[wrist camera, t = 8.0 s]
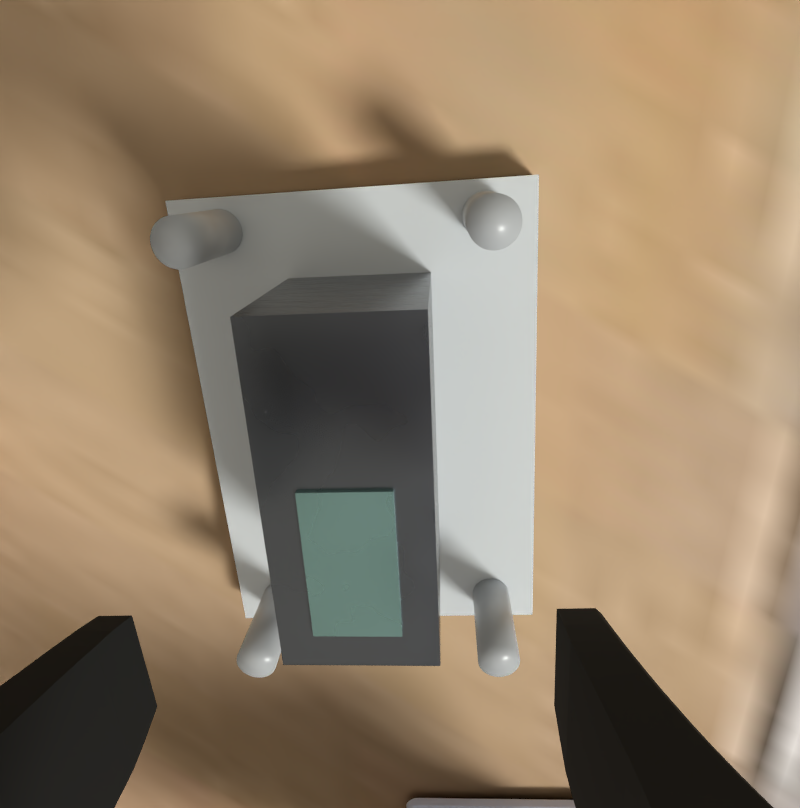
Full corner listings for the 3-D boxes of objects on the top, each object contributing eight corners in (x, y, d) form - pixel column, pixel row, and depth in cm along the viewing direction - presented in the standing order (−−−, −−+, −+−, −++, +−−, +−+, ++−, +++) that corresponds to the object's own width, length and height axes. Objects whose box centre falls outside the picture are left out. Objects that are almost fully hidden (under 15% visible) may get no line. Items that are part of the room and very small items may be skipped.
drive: (439, 549, 20) (440, 668, 15) (319, 550, 20) (282, 667, 15) (430, 271, 16) (427, 310, 12) (288, 278, 17) (228, 317, 12)
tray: (528, 595, 21) (547, 684, 17) (254, 599, 22) (216, 685, 18) (532, 174, 16) (561, 173, 13) (180, 199, 17) (107, 205, 13)
